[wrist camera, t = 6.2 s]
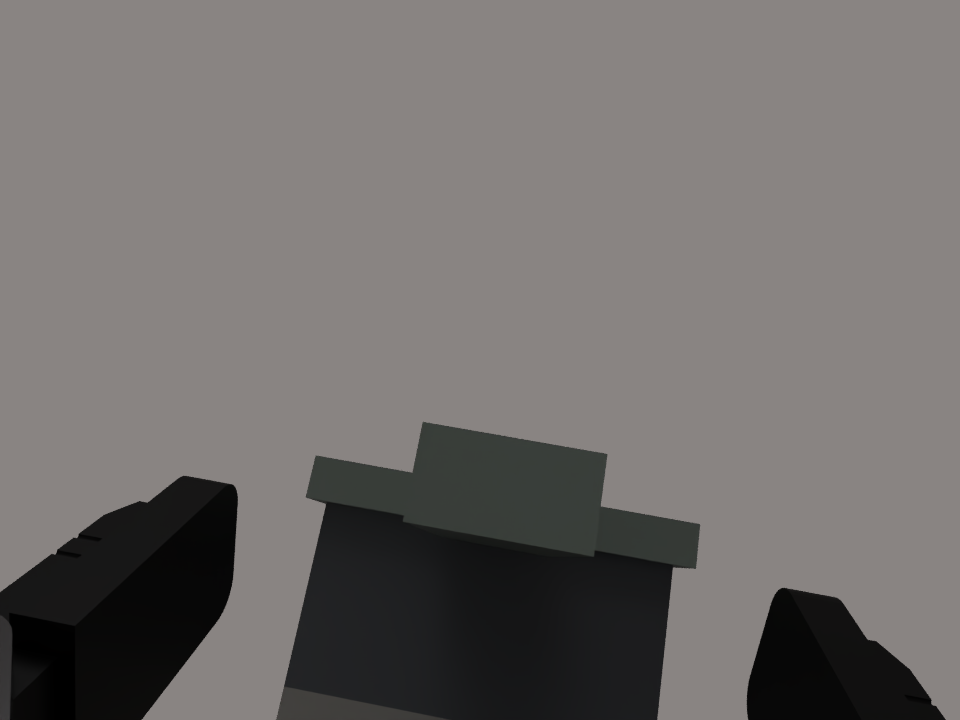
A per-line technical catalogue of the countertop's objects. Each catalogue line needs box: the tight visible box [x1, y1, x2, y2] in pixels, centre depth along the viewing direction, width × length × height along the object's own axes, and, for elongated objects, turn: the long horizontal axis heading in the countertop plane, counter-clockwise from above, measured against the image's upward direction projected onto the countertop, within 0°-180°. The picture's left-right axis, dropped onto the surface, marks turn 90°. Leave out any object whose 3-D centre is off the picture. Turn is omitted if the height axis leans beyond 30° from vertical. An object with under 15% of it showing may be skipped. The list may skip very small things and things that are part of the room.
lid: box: [306, 422, 700, 569], centre depth 21 cm, size 20×11×2 cm, turn 179°
